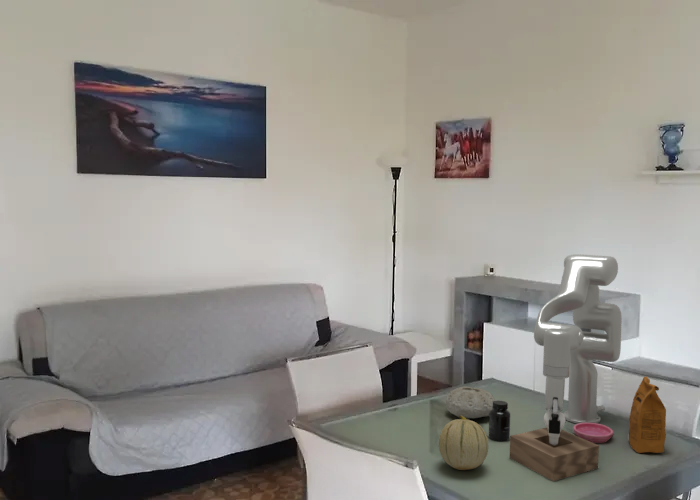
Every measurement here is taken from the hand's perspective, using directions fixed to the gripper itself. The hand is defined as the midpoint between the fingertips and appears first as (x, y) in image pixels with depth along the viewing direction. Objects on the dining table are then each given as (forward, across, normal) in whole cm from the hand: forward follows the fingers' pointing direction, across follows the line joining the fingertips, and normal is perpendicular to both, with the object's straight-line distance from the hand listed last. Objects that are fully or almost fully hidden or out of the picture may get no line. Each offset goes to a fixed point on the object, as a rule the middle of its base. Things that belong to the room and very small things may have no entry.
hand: (554, 428), depth 197 cm
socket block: (+11, 0, 0) cm, 11 cm away
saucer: (+11, -26, +13) cm, 31 cm away
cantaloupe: (+11, +11, -25) cm, 30 cm away
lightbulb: (+5, 0, 0) cm, 5 cm away
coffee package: (+11, -21, +28) cm, 37 cm away
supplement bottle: (+11, -16, -17) cm, 25 cm away
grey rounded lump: (+11, -34, -28) cm, 46 cm away
